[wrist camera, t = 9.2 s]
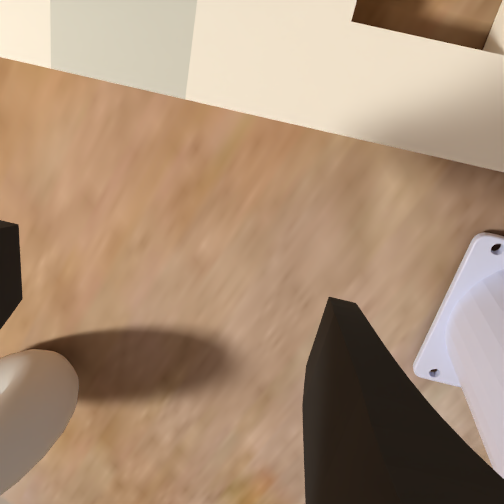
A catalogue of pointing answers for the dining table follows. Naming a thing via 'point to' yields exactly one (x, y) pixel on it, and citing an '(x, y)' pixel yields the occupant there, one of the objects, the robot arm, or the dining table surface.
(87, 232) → the dining table surface
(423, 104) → the peg board
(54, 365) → the donut
